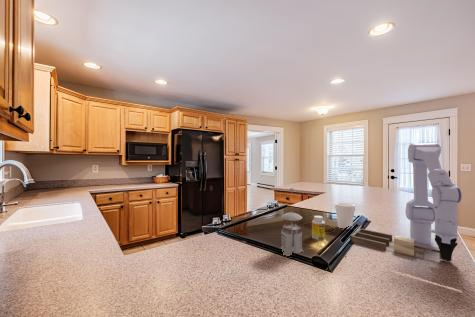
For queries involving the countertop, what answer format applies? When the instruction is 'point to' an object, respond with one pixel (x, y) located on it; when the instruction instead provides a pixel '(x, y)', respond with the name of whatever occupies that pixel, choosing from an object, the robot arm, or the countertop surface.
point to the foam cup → (344, 214)
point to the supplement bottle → (318, 228)
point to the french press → (291, 234)
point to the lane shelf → (380, 242)
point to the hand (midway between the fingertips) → (445, 258)
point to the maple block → (408, 246)
